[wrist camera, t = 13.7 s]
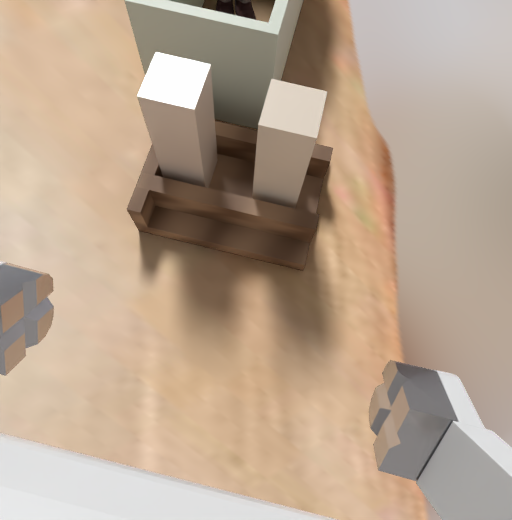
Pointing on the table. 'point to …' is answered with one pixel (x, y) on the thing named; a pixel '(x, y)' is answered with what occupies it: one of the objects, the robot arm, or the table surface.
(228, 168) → the rack
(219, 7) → the toy
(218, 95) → the pale green open box
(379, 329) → the table surface
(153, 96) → the racked bar
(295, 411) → the table surface
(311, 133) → the clay bar
